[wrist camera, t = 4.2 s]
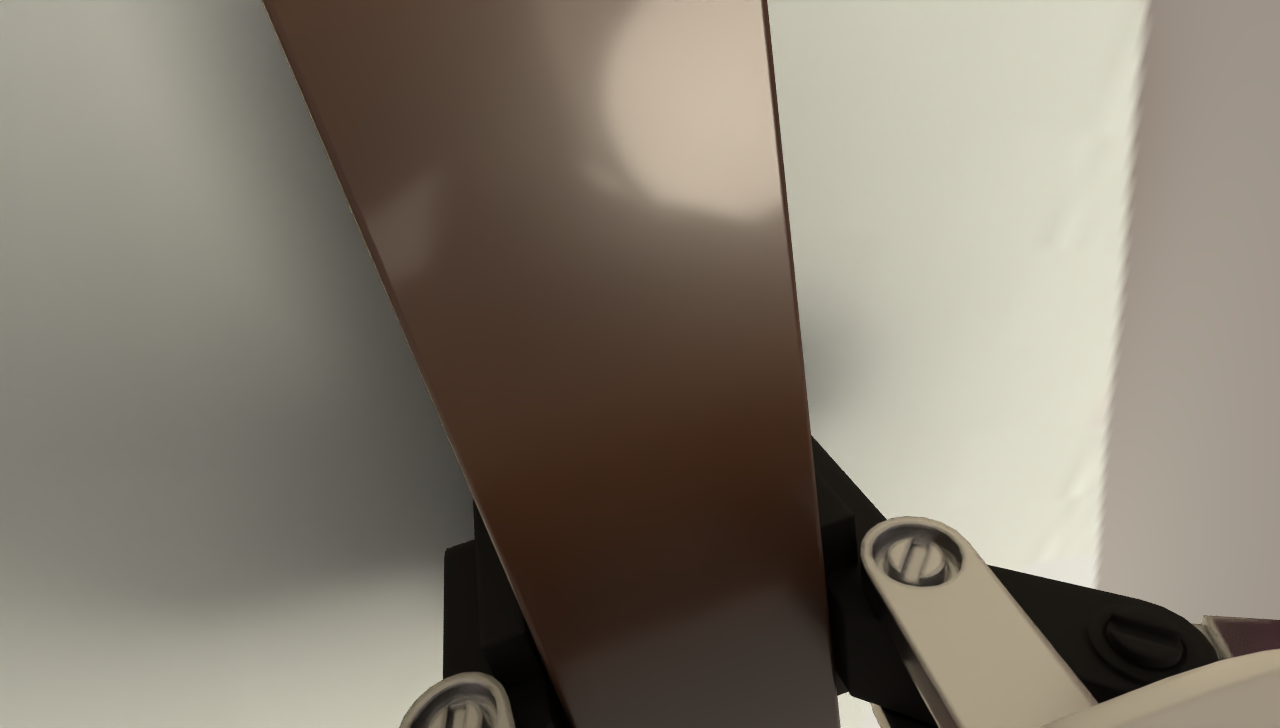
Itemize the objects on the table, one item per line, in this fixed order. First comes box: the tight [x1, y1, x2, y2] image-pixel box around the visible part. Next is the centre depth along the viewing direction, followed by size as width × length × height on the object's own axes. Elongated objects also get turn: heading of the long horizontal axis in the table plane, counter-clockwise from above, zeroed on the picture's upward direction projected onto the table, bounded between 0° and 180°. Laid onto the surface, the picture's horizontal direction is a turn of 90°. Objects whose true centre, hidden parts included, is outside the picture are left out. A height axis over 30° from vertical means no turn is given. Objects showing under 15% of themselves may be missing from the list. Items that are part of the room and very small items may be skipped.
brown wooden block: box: [261, 0, 840, 728], centre depth 10 cm, size 16×3×5 cm, turn 12°
